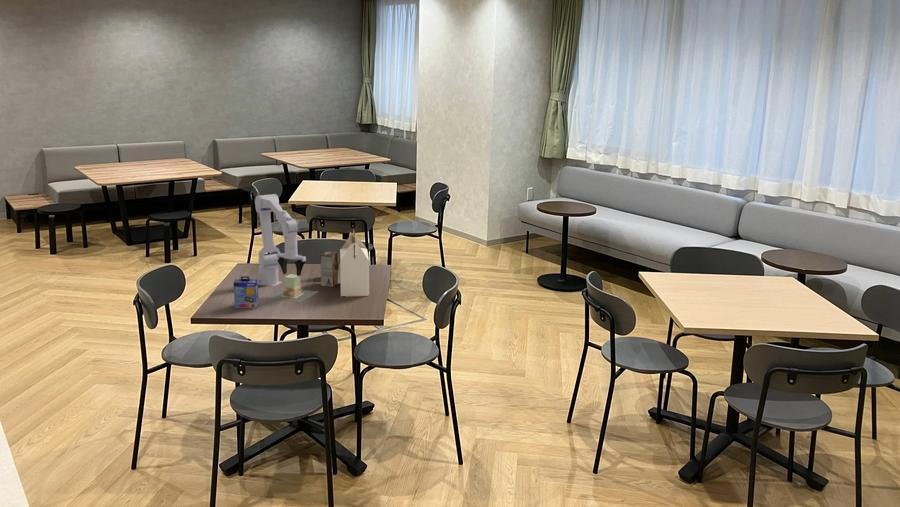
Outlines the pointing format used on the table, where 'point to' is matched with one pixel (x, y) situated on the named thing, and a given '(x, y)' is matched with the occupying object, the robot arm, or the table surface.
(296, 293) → the maple base block
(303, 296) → the board
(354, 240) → the gable box
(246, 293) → the ink cartridge box
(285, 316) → the table surface
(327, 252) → the coffee box
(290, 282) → the sage top block
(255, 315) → the table surface
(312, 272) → the table surface
